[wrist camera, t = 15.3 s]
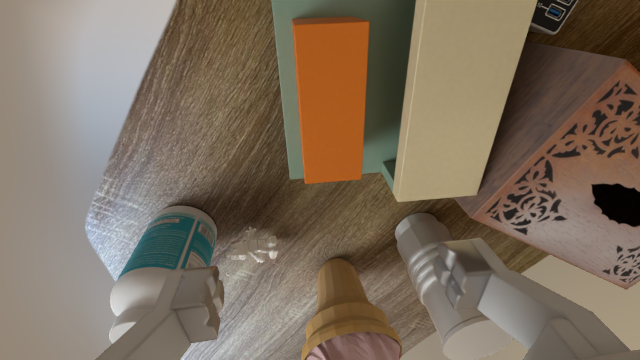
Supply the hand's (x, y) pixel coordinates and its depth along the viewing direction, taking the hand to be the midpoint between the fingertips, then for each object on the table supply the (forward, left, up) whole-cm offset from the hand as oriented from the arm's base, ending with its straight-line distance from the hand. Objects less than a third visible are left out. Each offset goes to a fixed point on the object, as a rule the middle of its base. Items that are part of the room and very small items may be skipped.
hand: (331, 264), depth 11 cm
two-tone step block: (+6, +1, -21) cm, 22 cm away
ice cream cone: (+3, -25, -21) cm, 32 cm away
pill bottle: (-15, -15, -21) cm, 29 cm away
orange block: (+2, +2, -17) cm, 17 cm away
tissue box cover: (+28, -9, -21) cm, 36 cm away
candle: (+14, -19, -21) cm, 31 cm away
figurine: (-10, -21, -21) cm, 31 cm away
